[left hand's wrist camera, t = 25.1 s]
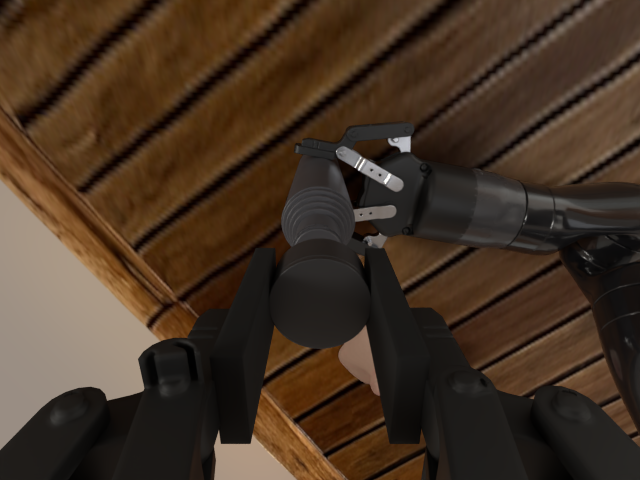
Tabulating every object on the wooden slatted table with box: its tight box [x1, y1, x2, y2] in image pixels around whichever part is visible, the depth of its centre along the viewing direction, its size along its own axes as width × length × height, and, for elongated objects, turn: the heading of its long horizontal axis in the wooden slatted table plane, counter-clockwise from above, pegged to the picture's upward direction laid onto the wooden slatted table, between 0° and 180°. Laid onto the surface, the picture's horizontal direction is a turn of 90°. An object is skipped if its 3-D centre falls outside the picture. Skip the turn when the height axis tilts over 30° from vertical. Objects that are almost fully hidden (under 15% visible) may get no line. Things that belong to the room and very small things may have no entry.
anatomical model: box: [338, 325, 380, 396], centre depth 48 cm, size 13×4×12 cm
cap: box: [269, 238, 371, 349], centre depth 14 cm, size 4×4×2 cm
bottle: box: [281, 155, 355, 247], centre depth 30 cm, size 5×5×25 cm
